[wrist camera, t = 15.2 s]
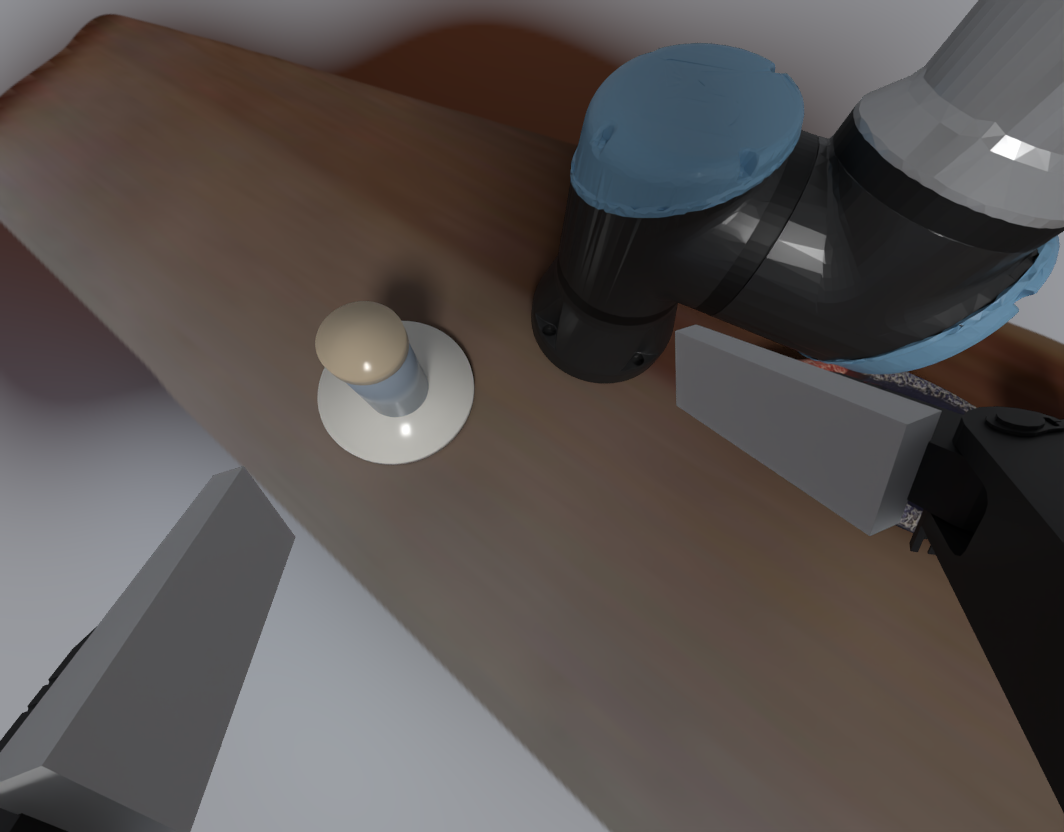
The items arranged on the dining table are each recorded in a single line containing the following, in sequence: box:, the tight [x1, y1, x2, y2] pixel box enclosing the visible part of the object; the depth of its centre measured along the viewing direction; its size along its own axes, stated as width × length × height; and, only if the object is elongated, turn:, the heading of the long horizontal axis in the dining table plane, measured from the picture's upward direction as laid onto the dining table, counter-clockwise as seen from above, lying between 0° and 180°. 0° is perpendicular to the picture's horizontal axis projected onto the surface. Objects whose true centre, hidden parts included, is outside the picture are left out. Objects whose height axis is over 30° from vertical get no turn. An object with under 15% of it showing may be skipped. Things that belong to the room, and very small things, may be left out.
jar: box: [315, 301, 429, 417], centre depth 33 cm, size 6×6×10 cm
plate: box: [318, 321, 474, 465], centre depth 38 cm, size 15×15×1 cm
